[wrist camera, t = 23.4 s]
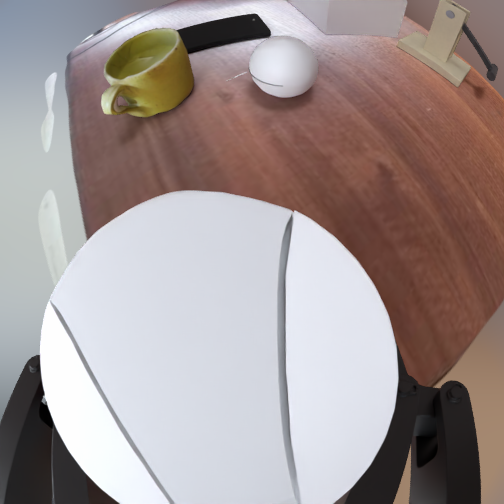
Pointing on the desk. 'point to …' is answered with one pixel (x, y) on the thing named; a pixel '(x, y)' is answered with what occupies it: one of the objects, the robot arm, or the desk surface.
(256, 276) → the coffee cup
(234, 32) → the cell phone
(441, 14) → the lever base
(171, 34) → the mug
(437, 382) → the desk surface
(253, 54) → the white sphere
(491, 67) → the black lever
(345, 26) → the hammer on box
